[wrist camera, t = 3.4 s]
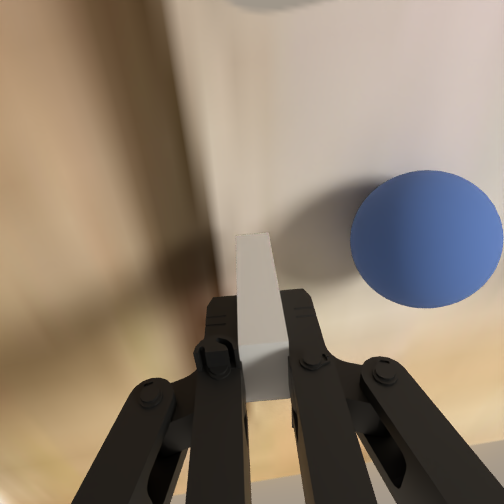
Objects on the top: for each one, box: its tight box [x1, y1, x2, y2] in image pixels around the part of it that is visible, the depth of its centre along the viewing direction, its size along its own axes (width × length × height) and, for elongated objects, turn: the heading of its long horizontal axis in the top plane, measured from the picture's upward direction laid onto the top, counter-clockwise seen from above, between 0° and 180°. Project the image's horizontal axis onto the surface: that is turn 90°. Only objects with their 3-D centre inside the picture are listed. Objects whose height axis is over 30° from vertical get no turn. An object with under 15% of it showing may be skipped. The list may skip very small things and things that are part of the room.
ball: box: [350, 170, 503, 308], centre depth 16 cm, size 6×6×6 cm
